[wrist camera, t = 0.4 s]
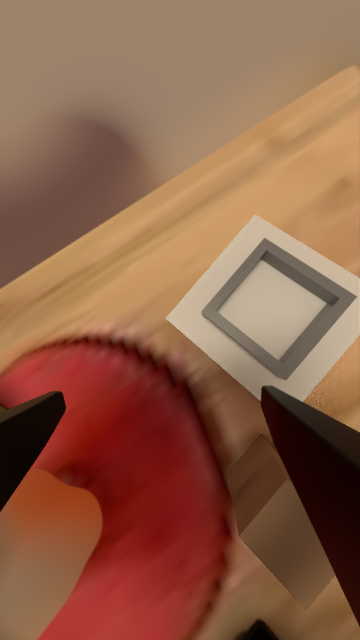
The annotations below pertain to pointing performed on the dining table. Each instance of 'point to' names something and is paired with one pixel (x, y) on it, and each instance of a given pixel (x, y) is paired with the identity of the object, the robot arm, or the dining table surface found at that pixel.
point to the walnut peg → (278, 523)
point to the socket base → (272, 311)
